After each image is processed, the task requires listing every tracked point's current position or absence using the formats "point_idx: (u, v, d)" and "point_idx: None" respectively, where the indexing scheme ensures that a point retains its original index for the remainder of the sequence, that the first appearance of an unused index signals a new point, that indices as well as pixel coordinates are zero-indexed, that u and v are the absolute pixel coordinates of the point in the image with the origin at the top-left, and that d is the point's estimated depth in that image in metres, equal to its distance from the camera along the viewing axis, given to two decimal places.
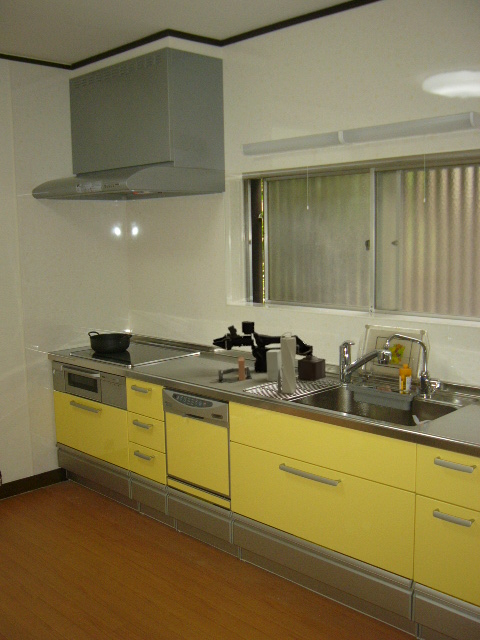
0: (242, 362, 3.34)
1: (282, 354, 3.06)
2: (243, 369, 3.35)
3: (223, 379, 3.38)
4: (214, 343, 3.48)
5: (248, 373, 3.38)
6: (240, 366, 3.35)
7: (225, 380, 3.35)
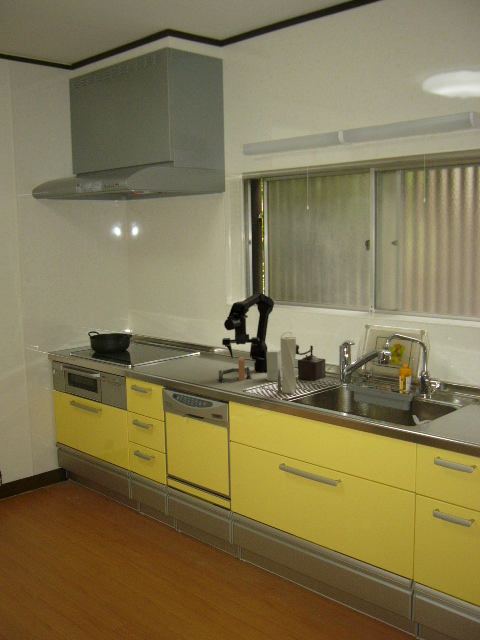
0: (242, 362, 3.34)
1: (282, 354, 3.06)
2: (243, 369, 3.35)
3: (223, 379, 3.38)
4: (251, 355, 3.38)
5: (248, 373, 3.38)
6: (240, 366, 3.35)
7: (225, 380, 3.35)
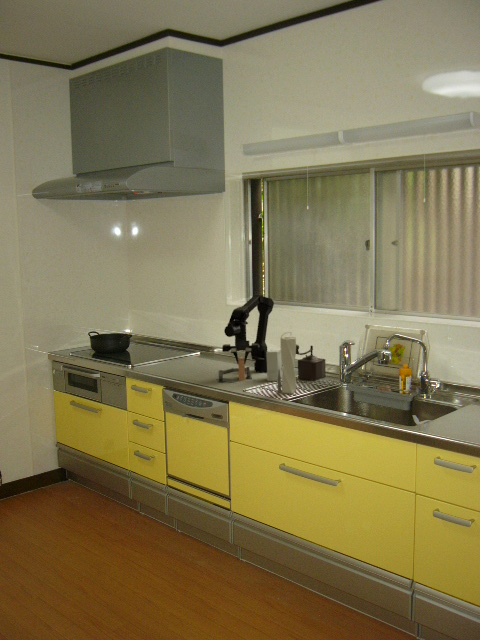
0: (242, 362, 3.34)
1: (282, 354, 3.06)
2: (243, 369, 3.35)
3: (223, 379, 3.38)
4: (245, 362, 3.38)
5: (248, 373, 3.38)
6: (240, 366, 3.34)
7: (225, 380, 3.35)
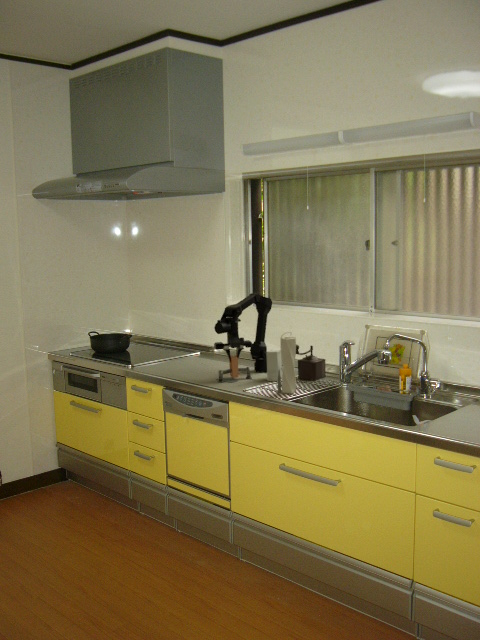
0: (236, 359, 3.34)
1: (282, 354, 3.06)
2: (237, 366, 3.35)
3: (223, 379, 3.38)
4: None
5: (248, 373, 3.38)
6: (234, 363, 3.34)
7: (225, 380, 3.35)
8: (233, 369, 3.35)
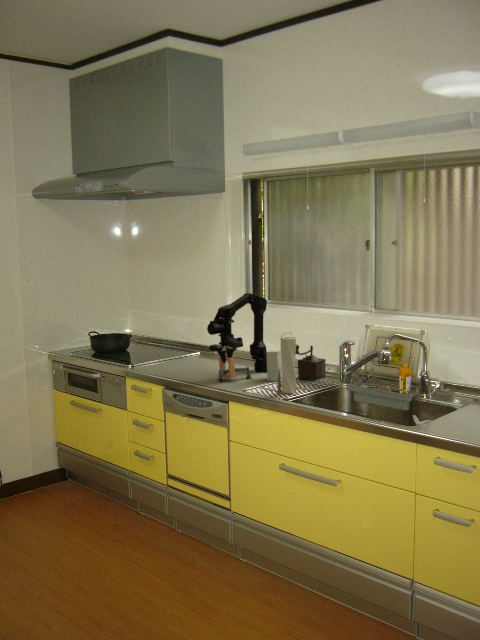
0: (233, 360, 3.33)
1: (282, 354, 3.06)
2: (233, 367, 3.33)
3: (223, 379, 3.38)
4: None
5: (248, 373, 3.38)
6: (231, 364, 3.32)
7: (225, 380, 3.35)
8: (231, 370, 3.32)
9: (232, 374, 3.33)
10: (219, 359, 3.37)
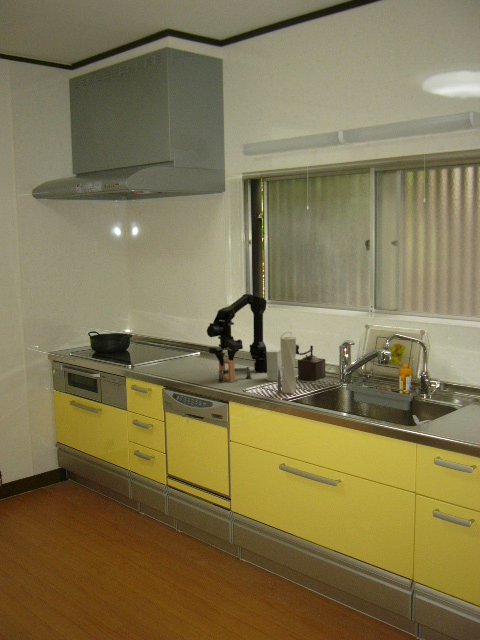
0: (232, 362, 3.33)
1: (282, 354, 3.06)
2: (233, 369, 3.34)
3: None
4: None
5: (248, 373, 3.38)
6: (231, 367, 3.32)
7: None
8: (231, 373, 3.32)
9: (232, 377, 3.33)
10: (219, 362, 3.37)
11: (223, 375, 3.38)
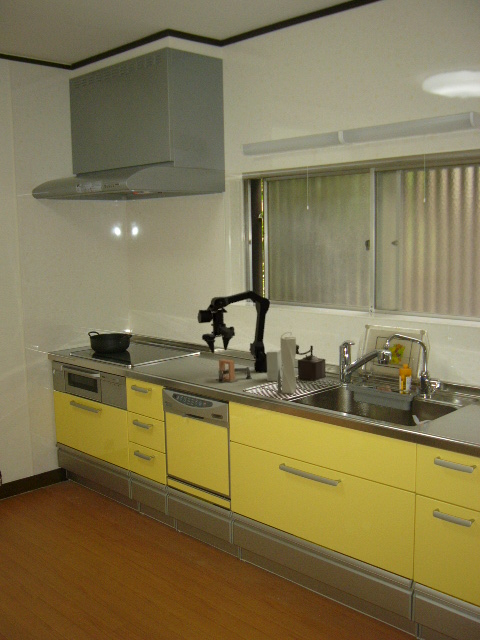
0: (232, 362, 3.33)
1: (282, 354, 3.06)
2: (233, 369, 3.34)
3: None
4: None
5: (248, 373, 3.38)
6: (231, 367, 3.32)
7: None
8: (231, 373, 3.32)
9: (232, 377, 3.33)
10: (219, 362, 3.37)
11: (223, 375, 3.38)
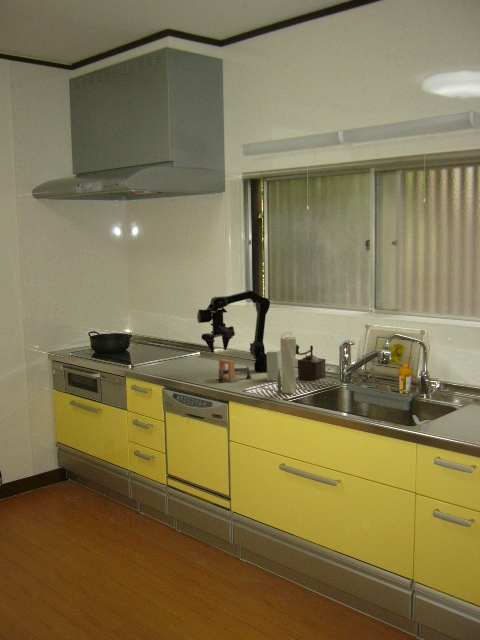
0: (232, 362, 3.33)
1: (282, 354, 3.06)
2: (233, 369, 3.34)
3: None
4: None
5: (248, 373, 3.38)
6: (231, 367, 3.32)
7: None
8: (231, 373, 3.32)
9: (232, 377, 3.33)
10: (219, 362, 3.37)
11: (223, 375, 3.38)
